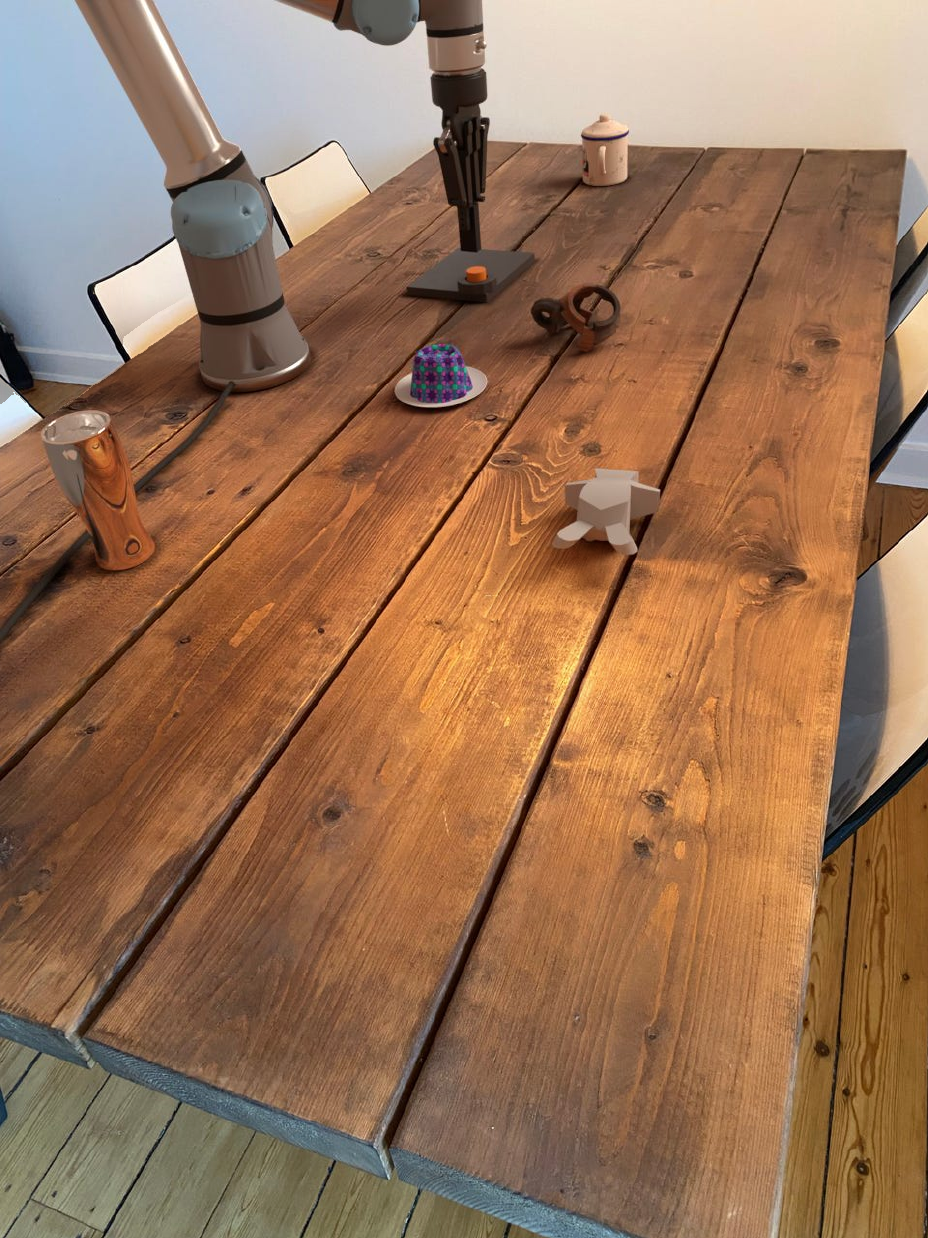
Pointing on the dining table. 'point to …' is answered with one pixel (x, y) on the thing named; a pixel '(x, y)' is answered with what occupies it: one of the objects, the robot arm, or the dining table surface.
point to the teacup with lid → (605, 152)
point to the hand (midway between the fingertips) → (471, 249)
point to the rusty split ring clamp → (578, 315)
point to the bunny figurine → (607, 509)
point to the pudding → (440, 378)
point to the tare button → (476, 274)
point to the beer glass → (98, 486)
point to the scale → (452, 279)
